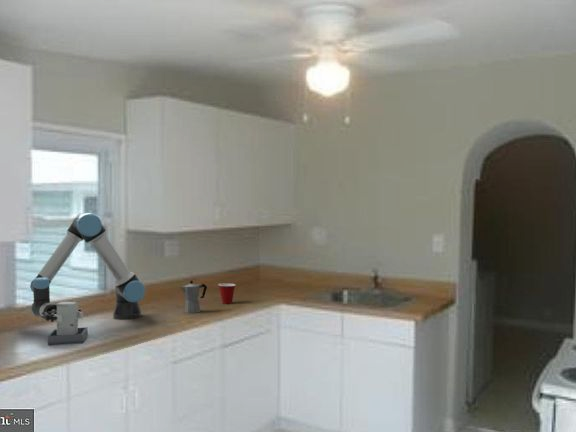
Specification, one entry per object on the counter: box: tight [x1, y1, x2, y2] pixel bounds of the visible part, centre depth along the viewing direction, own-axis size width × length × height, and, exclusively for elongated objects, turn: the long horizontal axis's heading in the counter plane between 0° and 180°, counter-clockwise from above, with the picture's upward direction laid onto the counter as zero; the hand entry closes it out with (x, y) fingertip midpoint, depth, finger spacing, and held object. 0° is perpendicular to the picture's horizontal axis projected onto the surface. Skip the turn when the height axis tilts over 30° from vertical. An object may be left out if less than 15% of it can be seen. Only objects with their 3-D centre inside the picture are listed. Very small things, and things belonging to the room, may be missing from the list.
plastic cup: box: [218, 283, 237, 305], centre depth 356 cm, size 11×11×12 cm
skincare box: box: [56, 301, 79, 335], centre depth 270 cm, size 8×6×15 cm
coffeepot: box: [179, 280, 208, 314], centre depth 332 cm, size 15×9×18 cm, turn 110°
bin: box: [47, 326, 89, 346], centre depth 270 cm, size 15×15×4 cm
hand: (71, 317), depth 267 cm, fingers closed on skincare box, 9 cm apart
